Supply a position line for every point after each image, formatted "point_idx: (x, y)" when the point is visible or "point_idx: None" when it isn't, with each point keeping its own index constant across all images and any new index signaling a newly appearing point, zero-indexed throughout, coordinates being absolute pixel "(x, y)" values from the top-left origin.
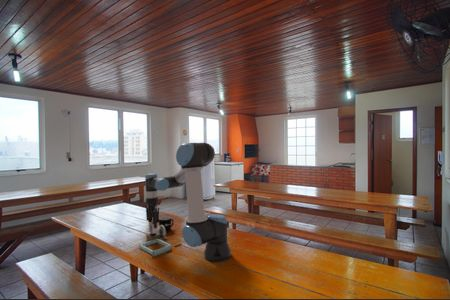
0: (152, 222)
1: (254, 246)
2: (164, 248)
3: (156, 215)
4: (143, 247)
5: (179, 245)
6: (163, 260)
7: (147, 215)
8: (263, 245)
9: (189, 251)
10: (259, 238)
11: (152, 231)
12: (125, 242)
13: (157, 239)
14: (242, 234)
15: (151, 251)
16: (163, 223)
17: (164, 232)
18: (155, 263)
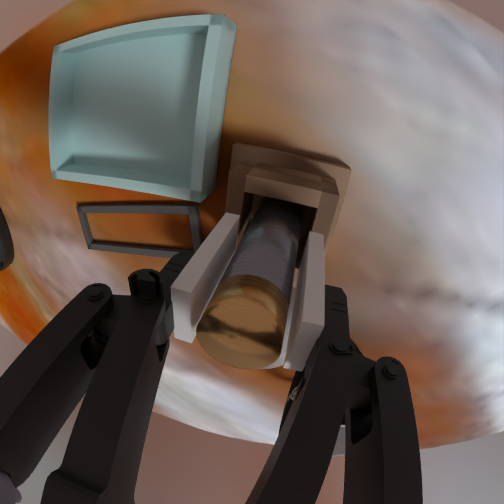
0: (205, 316)
1: (11, 307)
2: (54, 125)
3: (12, 386)
4: (154, 21)
5: (84, 229)
6: (31, 74)
7: (380, 451)
8: (12, 316)
9: (29, 204)
10: None
11: (248, 231)
12: (476, 92)
13: (180, 188)
14: None
15: (67, 42)
16: None
17: None
18: (38, 35)
